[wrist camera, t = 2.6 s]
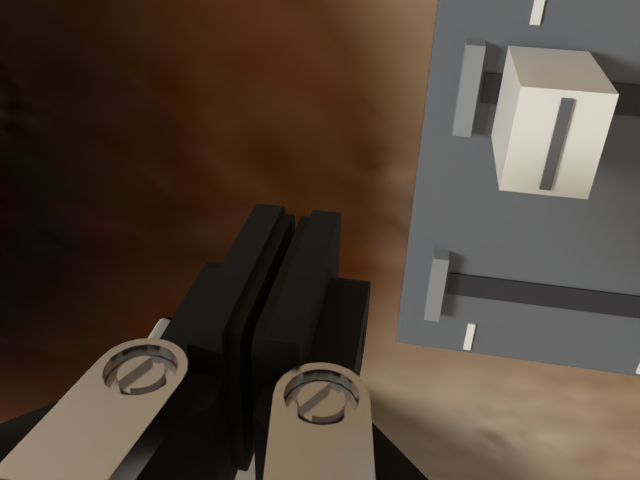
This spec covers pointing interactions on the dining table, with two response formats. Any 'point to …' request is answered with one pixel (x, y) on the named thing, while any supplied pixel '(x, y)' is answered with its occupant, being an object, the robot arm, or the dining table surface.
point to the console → (524, 200)
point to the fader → (551, 121)
